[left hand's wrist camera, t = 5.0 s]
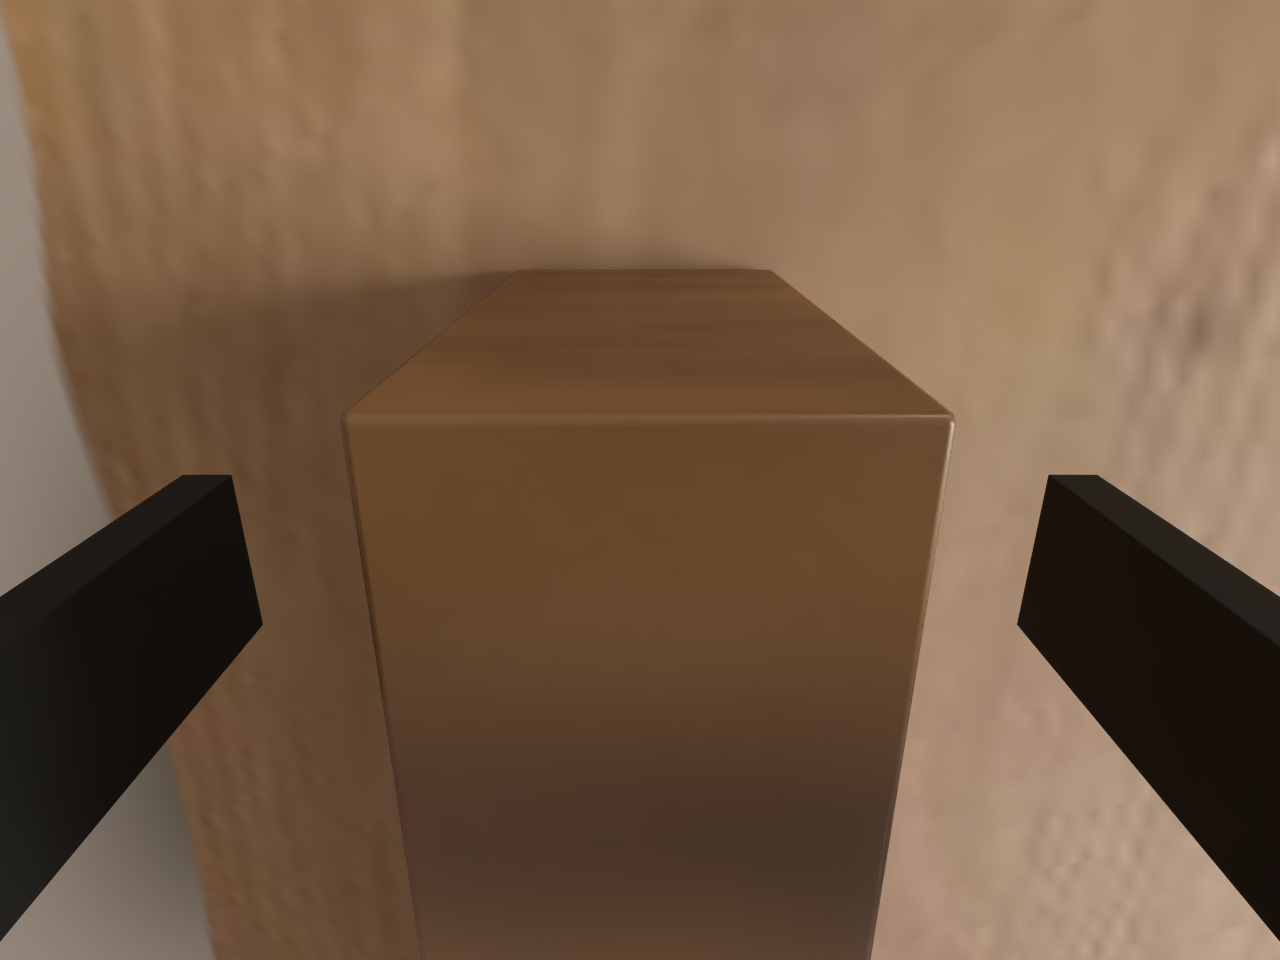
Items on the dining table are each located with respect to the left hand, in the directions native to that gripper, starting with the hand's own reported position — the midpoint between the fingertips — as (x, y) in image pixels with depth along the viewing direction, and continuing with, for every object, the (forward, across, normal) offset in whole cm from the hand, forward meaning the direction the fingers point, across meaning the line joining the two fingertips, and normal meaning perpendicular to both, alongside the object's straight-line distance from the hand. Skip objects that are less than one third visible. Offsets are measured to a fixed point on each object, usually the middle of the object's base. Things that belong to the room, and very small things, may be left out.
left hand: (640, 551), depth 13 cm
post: (+3, 0, -26) cm, 26 cm away
